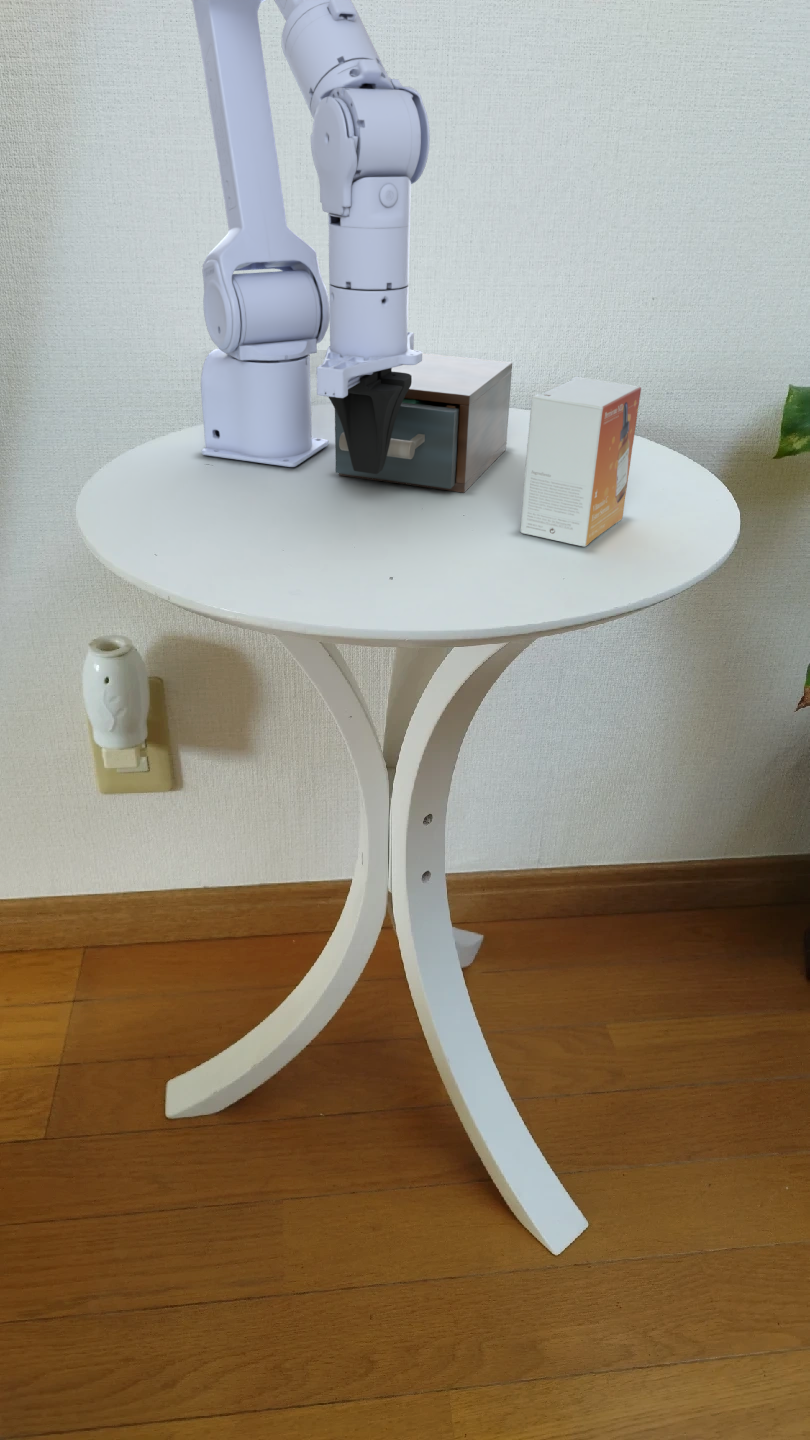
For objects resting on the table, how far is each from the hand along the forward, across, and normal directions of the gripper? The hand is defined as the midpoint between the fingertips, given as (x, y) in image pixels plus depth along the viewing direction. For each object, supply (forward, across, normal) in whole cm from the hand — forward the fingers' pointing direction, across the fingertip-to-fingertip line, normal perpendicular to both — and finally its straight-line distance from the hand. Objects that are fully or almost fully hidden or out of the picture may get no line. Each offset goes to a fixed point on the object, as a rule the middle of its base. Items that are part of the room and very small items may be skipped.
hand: (368, 470), depth 80 cm
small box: (+4, +3, -16) cm, 17 cm away
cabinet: (+3, +14, 0) cm, 15 cm away
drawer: (+2, +10, 0) cm, 10 cm away
